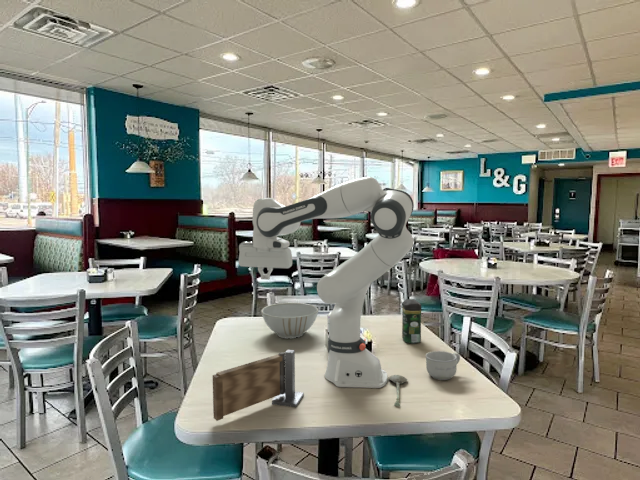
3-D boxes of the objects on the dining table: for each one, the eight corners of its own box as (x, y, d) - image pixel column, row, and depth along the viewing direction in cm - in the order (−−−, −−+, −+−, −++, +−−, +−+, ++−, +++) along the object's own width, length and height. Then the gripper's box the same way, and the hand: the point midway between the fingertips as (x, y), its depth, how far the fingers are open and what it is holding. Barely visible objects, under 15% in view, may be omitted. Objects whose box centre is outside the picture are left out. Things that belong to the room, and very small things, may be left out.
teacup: (435, 384, 143) (435, 362, 142) (419, 372, 153) (420, 351, 152) (470, 380, 146) (471, 358, 146) (452, 368, 157) (453, 347, 156)
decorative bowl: (298, 348, 179) (298, 320, 177) (249, 337, 192) (249, 312, 191) (328, 331, 202) (328, 306, 201) (283, 323, 215) (283, 300, 214)
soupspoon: (407, 380, 149) (388, 380, 150) (407, 371, 148) (388, 370, 150) (407, 408, 127) (386, 407, 128) (407, 397, 127) (385, 396, 128)
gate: (282, 392, 134) (282, 351, 133) (286, 394, 132) (286, 353, 131) (213, 418, 118) (212, 372, 117) (216, 420, 116) (215, 374, 115)
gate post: (303, 395, 135) (303, 347, 133) (296, 407, 127) (295, 356, 126) (280, 392, 137) (280, 345, 135) (271, 404, 129) (271, 354, 128)
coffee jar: (400, 337, 193) (400, 297, 191) (417, 337, 193) (418, 297, 191) (404, 344, 183) (405, 303, 181) (422, 344, 183) (423, 303, 181)
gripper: (235, 242, 152) (236, 279, 154) (288, 243, 147) (288, 282, 148) (242, 240, 158) (243, 276, 160) (293, 242, 153) (293, 278, 155)
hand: (265, 279), depth 154 cm, fingers closed
